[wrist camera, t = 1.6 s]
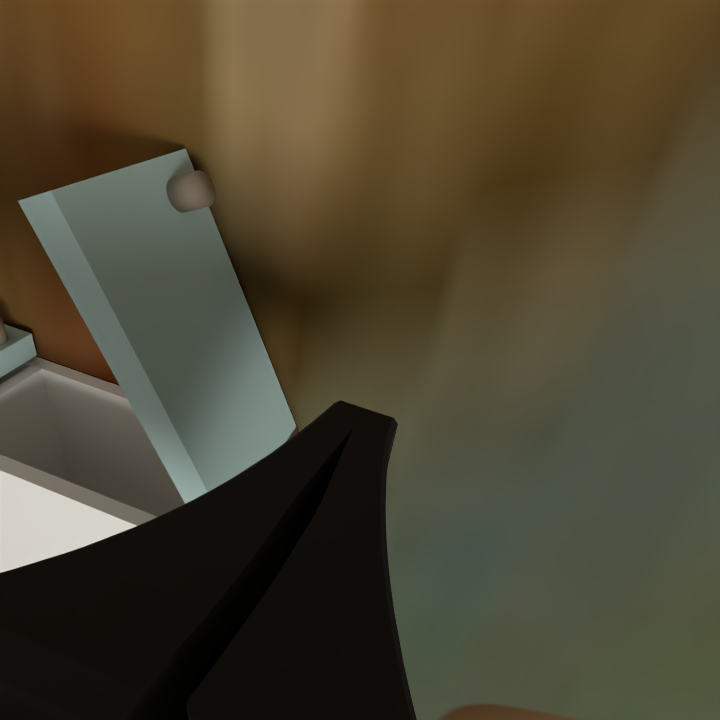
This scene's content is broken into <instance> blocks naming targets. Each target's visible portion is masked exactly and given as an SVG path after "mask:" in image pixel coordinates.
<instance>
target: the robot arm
mask: <svg viewBox="0 0 720 720" xmlns="http://www.w3.org/2000/svg"><path fill="white" fill-rule="evenodd" d="M397 425H398V424H397V422H396V421H395V419H394V418H392V417H389V416H386V415H383V414H380V413H377V412H374V411H371V410H368V409H365V408H362V407H358V406H355V405H352V404H349V403H346V402H343V401H338V402H336V403H334V404H333V405H332V406H331V407H329V408H328V409H327V410H326V411H325V412H324V413H322V414H321V415H320V416H319V417H318V418H316V419H315V420H314V421H313V422H312V423H310V424H309V425H308V426H306V427H305V428H304V429H303V430H301V431H300V432H299V433H298V434H296V435H295V436H294V437H292V438H291V439H289V440H288V441H287V442H285V443H284V444H283V445H281V446H280V447H278V448H277V449H276V450H274V451H273V452H272V453H270V454H269V455H267V456H266V457H264V458H263V459H261V460H260V461H258V462H256V463H255V464H253V465H252V466H250V467H249V468H247V469H246V470H244V471H243V472H241V473H239V474H238V475H236V476H235V477H233V478H231V479H230V480H228V481H226V482H225V483H223V484H221V485H219V486H218V487H216V488H214V489H212V490H211V491H209V492H207V493H205V494H203V495H201V496H199V497H197V498H196V499H194V500H192V501H190V502H188V503H186V504H184V505H182V506H180V507H177V508H175V509H173V510H171V511H169V512H167V513H165V514H163V515H161V516H159V517H156V518H154V519H152V520H150V521H147V522H145V523H143V524H141V525H138V526H136V527H133V528H131V529H128V530H126V531H123V532H120V533H118V534H115V535H113V536H110V537H108V538H105V539H102V540H100V541H97V542H95V543H92V544H90V545H87V546H84V547H81V548H79V549H76V550H73V551H70V552H67V553H64V554H60V555H57V556H54V557H51V558H48V559H44V560H41V561H38V562H35V563H32V564H28V565H25V566H22V567H19V568H15V569H12V570H9V571H5V572H1V573H0V720H417V719H416V715H415V711H414V707H413V703H412V699H411V695H410V690H409V686H408V681H407V677H406V672H405V668H404V663H403V658H402V653H401V647H400V641H399V636H398V630H397V625H396V619H395V614H394V607H393V600H392V592H391V585H390V576H389V566H388V555H387V541H386V476H387V467H388V462H389V458H390V454H391V450H392V446H393V442H394V438H395V433H396V429H397Z"/></svg>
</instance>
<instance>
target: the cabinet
mask: <svg viewBox="0 0 720 720" xmlns="http://www.w3.org/2000/svg"><path fill="white" fill-rule="evenodd" d="M36 355H37V353H36V349H35V345H34V341H33V337H32V334H31V333H28V332H26V331H23V330H20V329H17V328H14V327H11V326H8V325H5V324H4V322H3V319H2V318H1V317H0V573H1V572H5V571H9V570H12V569H15V568H19V567H22V566H25V565H28V564H32V563H35V562H38V561H41V560H44V559H48V558H51V557H54V556H57V555H60V554H64V553H67V552H70V551H73V550H76V549H79V548H81V547H84V546H87V545H90V544H92V543H95V542H97V541H100V540H102V539H105V538H108V537H110V536H113V535H115V534H118V533H120V532H123V531H126V530H128V529H131V528H133V527H136V526H138V525H141V524H143V523H145V522H147V521H150V520H152V519H154V518H156V517H159V516H161V515H163V514H165V513H167V512H169V511H171V510H173V509H175V508H177V507H180V506H182V505H184V504H185V502H184V501H183V499H182V497H181V495H180V493H179V492H178V490H177V488H176V486H175V484H174V483H173V481H172V479H171V477H170V475H169V474H168V472H167V470H166V468H165V466H164V464H163V463H162V461H161V459H160V457H159V455H158V454H157V452H156V450H155V448H154V446H153V445H152V443H151V441H150V439H149V437H148V436H147V434H146V432H145V430H144V428H143V427H142V425H141V423H140V421H139V419H138V417H137V416H136V414H135V412H134V410H133V408H132V407H131V405H130V403H129V401H128V399H127V398H126V396H125V394H124V392H123V390H122V389H121V387H120V386H118V385H116V384H113V383H110V382H107V381H104V380H101V379H98V378H96V377H93V376H90V375H87V374H84V373H81V372H79V371H76V370H73V369H70V368H67V367H64V366H61V365H59V364H56V363H53V362H50V361H47V360H44V359H41V358H39V357H36Z"/></svg>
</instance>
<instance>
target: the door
mask: <svg viewBox="0 0 720 720" xmlns="http://www.w3.org/2000/svg"><path fill="white" fill-rule="evenodd" d="M214 200H215V189H214V186H213V183H212V181H211V179H210V178H209V176H208V175H207V174H206V173H205V172H203V171H201V170H197V171H194V168H193V166H192V163H191V161H190V158H189V156H188V153H187V151H186V149H182V150H179V151H176V152H173V153H170V154H166V155H163V156H160V157H157V158H154V159H150V160H147V161H144V162H141V163H138V164H134V165H131V166H128V167H125V168H122V169H118V170H115V171H112V172H109V173H106V174H102V175H99V176H96V177H93V178H90V179H86V180H83V181H80V182H77V183H74V184H70V185H67V186H64V187H61V188H58V189H54V190H51V191H48V192H45V193H42V194H38V195H35V196H32V197H29V198H26V199H22V200H19V201H18V202H19V204H20V206H21V208H22V210H23V211H24V213H25V215H26V217H27V219H28V220H29V222H30V224H31V226H32V228H33V229H34V231H35V233H36V235H37V237H38V239H39V240H40V242H41V244H42V246H43V248H44V249H45V251H46V253H47V255H48V257H49V258H50V260H51V262H52V264H53V266H54V267H55V269H56V271H57V273H58V275H59V276H60V278H61V280H62V282H63V284H64V286H65V287H66V289H67V291H68V293H69V295H70V296H71V298H72V300H73V302H74V304H75V305H76V307H77V309H78V311H79V313H80V314H81V316H82V318H83V320H84V322H85V323H86V325H87V327H88V329H89V331H90V333H91V334H92V336H93V338H94V340H95V342H96V343H97V345H98V347H99V349H100V351H101V352H102V354H103V356H104V358H105V360H106V361H107V363H108V365H109V367H110V369H111V370H112V372H113V374H114V376H115V378H116V380H117V381H118V383H119V385H120V387H121V389H122V390H123V392H124V394H125V396H126V398H127V399H128V401H129V403H130V405H131V407H132V408H133V410H134V412H135V414H136V416H137V417H138V419H139V421H140V423H141V425H142V427H143V428H144V430H145V432H146V434H147V436H148V437H149V439H150V441H151V443H152V445H153V446H154V448H155V450H156V452H157V454H158V455H159V457H160V459H161V461H162V463H163V464H164V466H165V468H166V470H167V472H168V474H169V475H170V477H171V479H172V481H173V483H174V484H175V486H176V488H177V490H178V492H179V493H180V495H181V497H182V499H183V501H184V502H185V504H186V503H188V502H190V501H192V500H194V499H196V498H197V497H199V496H201V495H203V494H205V493H207V492H209V491H211V490H212V489H214V488H216V487H218V486H219V485H221V484H223V483H225V482H226V481H228V480H230V479H231V478H233V477H235V476H236V475H238V474H239V473H241V472H243V471H244V470H246V469H247V468H249V467H250V466H252V465H253V464H255V463H256V462H258V461H260V460H261V459H263V458H264V457H266V456H267V455H269V454H270V453H272V452H273V451H274V450H276V449H277V448H278V447H280V446H281V445H283V444H284V443H285V442H287V441H288V440H289V439H291V438H292V437H294V436H295V435H296V434H298V433H299V429H298V426H297V425H296V424H295V422H294V419H293V417H292V414H291V412H290V409H289V407H288V404H287V402H286V399H285V397H284V394H283V392H282V389H281V387H280V384H279V382H278V379H277V377H276V374H275V372H274V369H273V367H272V364H271V362H270V359H269V356H268V354H267V351H266V349H265V346H264V344H263V341H262V339H261V336H260V334H259V331H258V329H257V326H256V324H255V321H254V319H253V316H252V314H251V311H250V309H249V306H248V304H247V301H246V299H245V296H244V294H243V291H242V289H241V286H240V284H239V281H238V279H237V276H236V274H235V271H234V269H233V266H232V264H231V261H230V259H229V256H228V254H227V251H226V249H225V246H224V244H223V241H222V238H221V236H220V233H219V231H218V228H217V226H216V223H215V221H214V218H213V216H212V213H211V211H210V208H209V206H211V205H212V204H213V203H214Z"/></svg>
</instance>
